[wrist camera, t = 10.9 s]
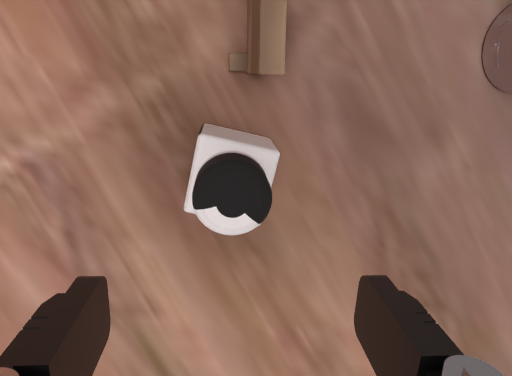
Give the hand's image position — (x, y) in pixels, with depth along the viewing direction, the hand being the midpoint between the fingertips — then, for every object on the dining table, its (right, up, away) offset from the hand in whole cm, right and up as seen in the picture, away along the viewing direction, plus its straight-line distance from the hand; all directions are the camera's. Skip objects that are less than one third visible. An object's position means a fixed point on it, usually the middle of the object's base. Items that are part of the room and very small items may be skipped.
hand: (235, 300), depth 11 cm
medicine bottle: (-2, +6, +27) cm, 27 cm away
